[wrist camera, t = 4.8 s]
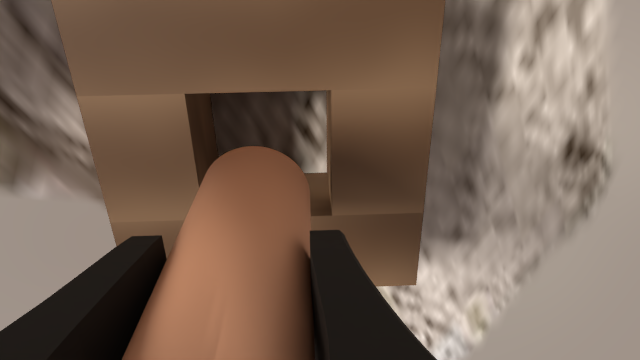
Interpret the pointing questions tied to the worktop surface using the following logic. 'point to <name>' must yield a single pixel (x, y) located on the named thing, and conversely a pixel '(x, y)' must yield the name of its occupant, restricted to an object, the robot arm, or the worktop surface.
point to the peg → (236, 268)
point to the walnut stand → (261, 76)
